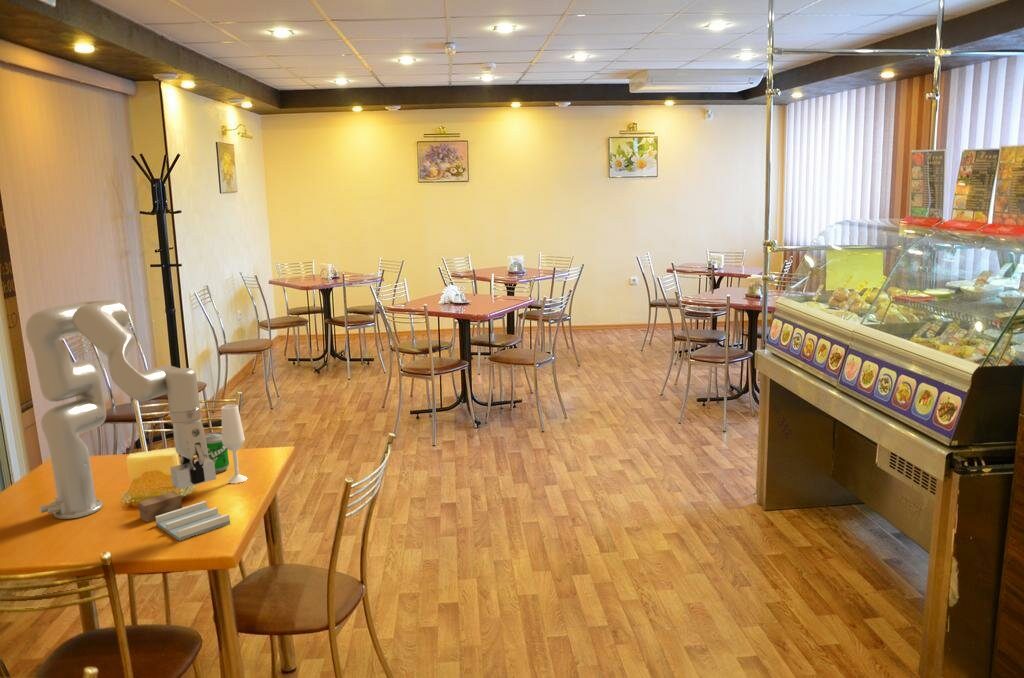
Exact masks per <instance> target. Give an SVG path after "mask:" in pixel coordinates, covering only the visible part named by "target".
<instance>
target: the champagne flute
mask: <svg viewBox="0 0 1024 678" xmlns="http://www.w3.org/2000/svg"><path fill="white" fill-rule="evenodd" d="M221 433H222V444H223V445H224V446H225V447H226V448H227V450H229V451H231V452H232V457H233V458H232V459H233V466H234V467H233V468H234V475H232V476H231V477H230V478H228V479H227V480H228V482H229V483H238V482H243V481H246V480H247V479H248V478H249V477H248V476H245V475H242V474H241V473H240V470H239V462H238V461H239V460H238V452H237V451H238V450H240V448H241V447H242V446H243V445H244V443H245V441H246V440H245V434H244V429H243V424H242V419H241V415H240V410H239V406H238V404H226V405H223V406H221ZM247 477H248V478H247ZM246 482H247V481H246Z"/></svg>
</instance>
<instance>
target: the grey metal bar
mask: <svg viewBox="0 0 1024 678" xmlns="http://www.w3.org/2000/svg"><path fill="white" fill-rule="evenodd" d="M196 461H198V459H197V460H194V463H195V462H196ZM203 465H204V468H203V470H204V478H205V481H204V482H201V483H198V484H192V477H191V470H192V467H191V463H190V462H189V463H185V464H181V463H180V464H178V465H174V466H170V475H171V476H170V477H171V485H172V486H173V487H175V488H176V489H178V490H182V489H186V488H189V487H192V486H193V487H194V486H196V485H197V486H198V485H200V484H204V483H207V482H210V481H211V482H212V481H216V480H217V473H215V464H214V461H212V460H211V459H209V458H205V462H204V464H203Z"/></svg>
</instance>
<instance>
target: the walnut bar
mask: <svg viewBox="0 0 1024 678" xmlns="http://www.w3.org/2000/svg"><path fill="white" fill-rule="evenodd" d="M181 496H182V495H181V494H179V493H178V492H176V491H170V492H167V493H164V494H160V495H156V496H154V497H149V498H147V499H143V500H141V501H138V503H137V504H138V510H139V518H140V519H141V520H143V521H144V522H145V521H146V523H150V522H152V520H153V521H156V518H155V516H159V515H162V514H165V513H168V512H171V511H174V510H178V509H181V508H183V506H182V504H183V503H182V497H181ZM149 521H150V522H149Z"/></svg>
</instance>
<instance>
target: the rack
mask: <svg viewBox="0 0 1024 678" xmlns="http://www.w3.org/2000/svg"><path fill="white" fill-rule="evenodd" d="M155 518H156V520H155V524H156V526H157V527H158V528H160V529H161V530H163V531H164V532H165V531H166V533H167V534H168V535H170V536H171V537H172V538H174V539H175V538H176V540H177V541H178V540H179V541H178V542H182V541H185V540H187V539H186V538H188V539H190V538H189V537H191V536H193V537H195V536H194V535H196V536H198V534H199V535H202V534H204V533H205V534H206V533H208V532H211V531H214V530H217V529H220V528H222V527H225V526H228V525H230V524H231V518H230V514H228V513H226V514H219V509H218V507H216V506H215V507H212V508H209V507H208V504H207V501H206V500H203V501H200V502H197V503H194V504H190V505H187V506H184V507H182V508H181V509H178V510H174V511H171V512H168V513H165V514H162V515H159V516H155ZM201 533H202V534H201ZM191 538H192V537H191ZM184 539H185V540H184ZM181 540H182V541H181Z"/></svg>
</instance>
